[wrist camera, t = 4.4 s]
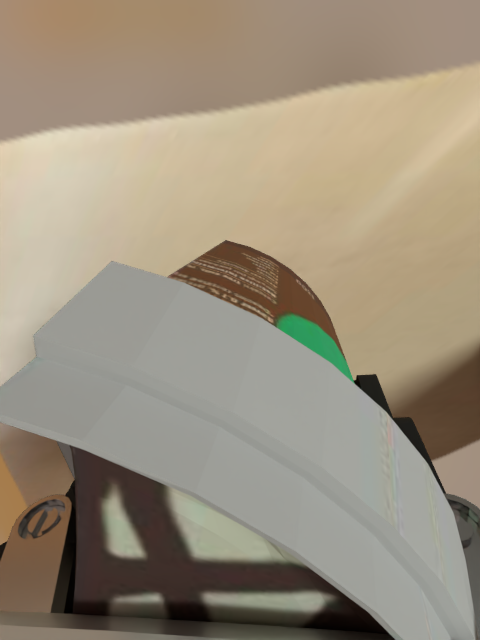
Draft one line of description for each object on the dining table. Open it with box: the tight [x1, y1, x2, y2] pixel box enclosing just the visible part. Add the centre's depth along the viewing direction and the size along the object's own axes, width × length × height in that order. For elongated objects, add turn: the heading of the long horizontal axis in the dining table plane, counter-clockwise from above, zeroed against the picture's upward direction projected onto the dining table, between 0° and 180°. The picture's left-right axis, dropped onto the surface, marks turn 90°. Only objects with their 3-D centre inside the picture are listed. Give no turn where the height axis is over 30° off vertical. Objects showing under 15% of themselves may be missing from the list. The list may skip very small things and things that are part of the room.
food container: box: [0, 240, 479, 640], centre depth 9 cm, size 12×6×10 cm, turn 170°
